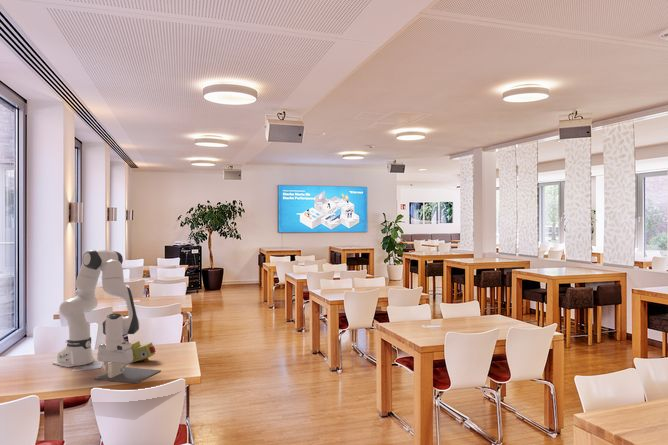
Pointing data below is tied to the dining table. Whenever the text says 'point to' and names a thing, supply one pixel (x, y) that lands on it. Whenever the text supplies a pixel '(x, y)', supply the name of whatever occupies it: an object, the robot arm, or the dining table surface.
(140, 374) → the mat
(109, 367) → the cream tile
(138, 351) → the toy
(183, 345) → the dining table surface
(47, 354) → the dining table surface
